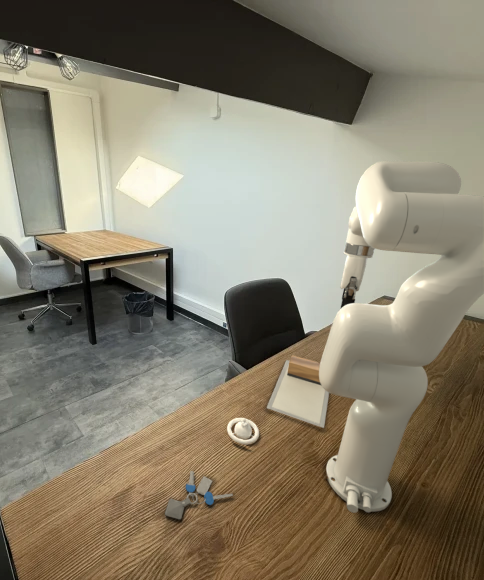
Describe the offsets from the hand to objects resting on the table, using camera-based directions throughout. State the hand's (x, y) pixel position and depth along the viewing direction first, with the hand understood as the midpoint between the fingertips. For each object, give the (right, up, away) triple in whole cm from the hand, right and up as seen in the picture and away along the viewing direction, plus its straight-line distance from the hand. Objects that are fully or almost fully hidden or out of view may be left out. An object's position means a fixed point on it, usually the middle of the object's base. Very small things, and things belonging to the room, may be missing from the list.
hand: (346, 305), depth 92 cm
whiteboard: (-13, -27, +2) cm, 30 cm away
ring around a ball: (-34, -33, -15) cm, 50 cm away
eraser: (-10, -24, +8) cm, 27 cm away
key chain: (-46, -37, -30) cm, 66 cm away
